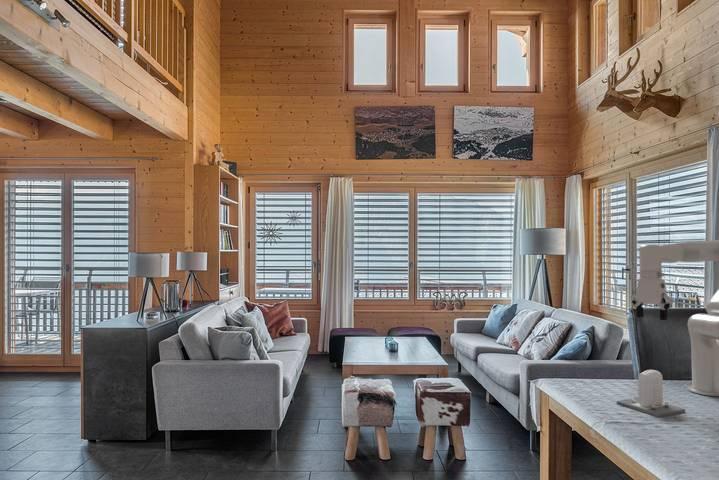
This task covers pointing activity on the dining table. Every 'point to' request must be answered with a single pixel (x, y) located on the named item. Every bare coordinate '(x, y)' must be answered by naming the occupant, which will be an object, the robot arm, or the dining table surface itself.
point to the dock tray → (654, 409)
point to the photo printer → (650, 388)
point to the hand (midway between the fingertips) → (651, 318)
